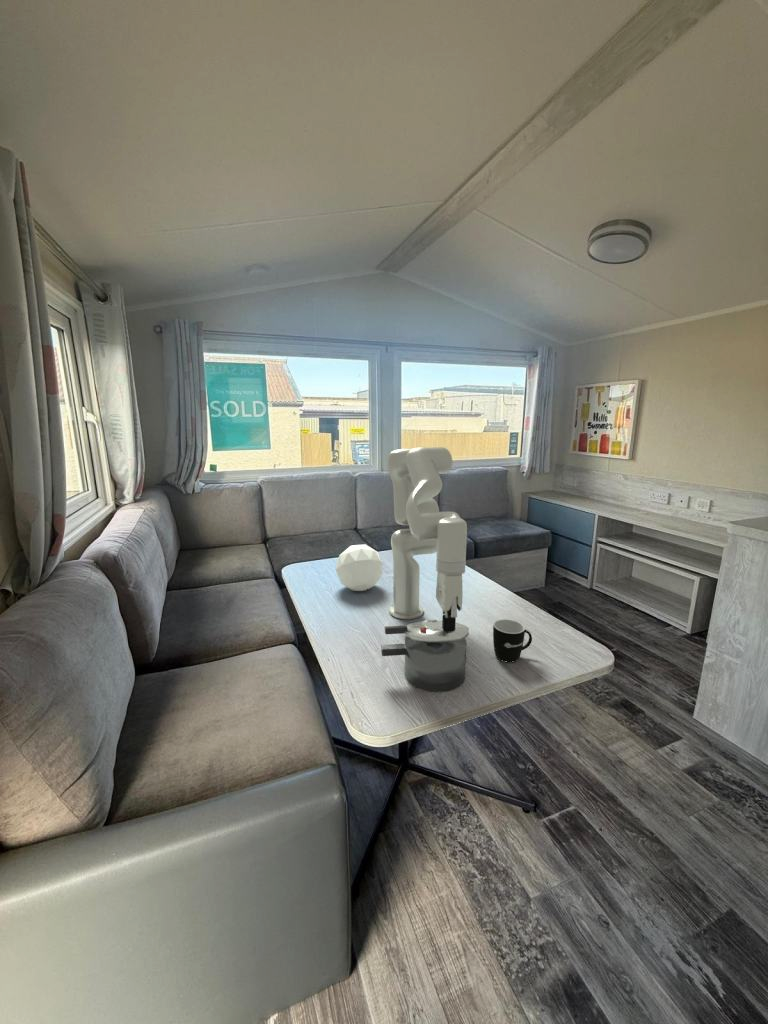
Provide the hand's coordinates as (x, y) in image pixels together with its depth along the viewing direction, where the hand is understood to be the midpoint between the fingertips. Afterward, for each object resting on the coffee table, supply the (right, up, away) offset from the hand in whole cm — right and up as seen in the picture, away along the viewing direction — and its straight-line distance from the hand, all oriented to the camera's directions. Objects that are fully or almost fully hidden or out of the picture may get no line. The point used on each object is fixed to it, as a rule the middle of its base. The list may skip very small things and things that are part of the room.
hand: (448, 629), depth 114 cm
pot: (-6, -14, +4) cm, 16 cm away
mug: (+21, -12, +13) cm, 28 cm away
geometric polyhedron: (-28, -1, +64) cm, 70 cm away
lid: (-6, -2, +2) cm, 6 cm away
